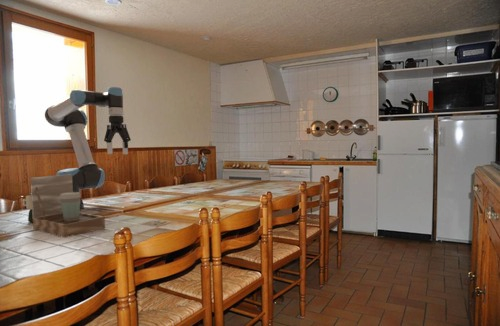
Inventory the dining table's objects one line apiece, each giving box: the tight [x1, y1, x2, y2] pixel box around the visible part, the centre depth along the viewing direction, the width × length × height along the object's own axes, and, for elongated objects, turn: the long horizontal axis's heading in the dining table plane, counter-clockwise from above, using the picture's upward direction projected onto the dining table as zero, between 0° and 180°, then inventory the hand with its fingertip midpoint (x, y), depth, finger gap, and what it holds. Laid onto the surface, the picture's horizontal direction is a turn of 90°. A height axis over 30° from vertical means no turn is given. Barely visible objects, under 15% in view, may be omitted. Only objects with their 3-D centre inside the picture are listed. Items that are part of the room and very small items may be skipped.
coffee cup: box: [59, 192, 82, 222], centre depth 149 cm, size 9×8×12 cm
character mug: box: [22, 194, 33, 223], centre depth 165 cm, size 11×7×13 cm, turn 100°
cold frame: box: [29, 174, 106, 238], centre depth 150 cm, size 26×18×23 cm
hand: (117, 154), depth 188 cm, fingers open, 13 cm apart
